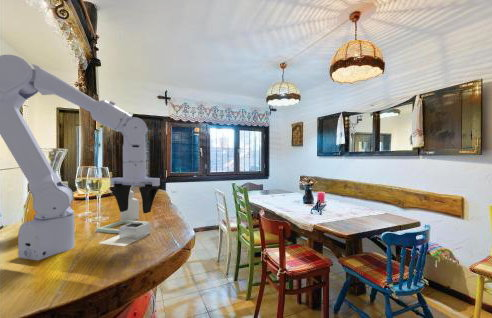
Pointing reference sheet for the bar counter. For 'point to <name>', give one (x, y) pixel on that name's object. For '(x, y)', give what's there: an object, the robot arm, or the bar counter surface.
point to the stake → (135, 224)
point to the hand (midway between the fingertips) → (135, 211)
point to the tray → (106, 228)
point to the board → (118, 241)
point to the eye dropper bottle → (131, 208)
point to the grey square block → (134, 231)
